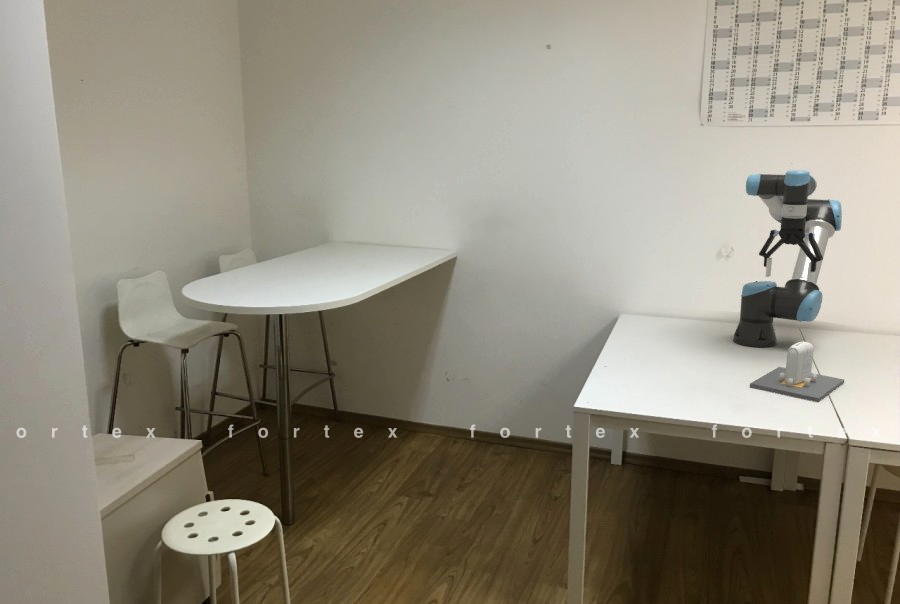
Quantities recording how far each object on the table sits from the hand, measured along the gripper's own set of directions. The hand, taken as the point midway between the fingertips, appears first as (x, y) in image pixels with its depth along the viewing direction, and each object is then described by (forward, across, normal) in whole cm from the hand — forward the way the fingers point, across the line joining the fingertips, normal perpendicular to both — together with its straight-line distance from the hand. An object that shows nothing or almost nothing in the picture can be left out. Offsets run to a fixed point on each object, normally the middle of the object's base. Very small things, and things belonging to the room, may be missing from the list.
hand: (788, 278), depth 251 cm
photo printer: (+27, +14, -27) cm, 41 cm away
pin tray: (+28, +14, -28) cm, 42 cm away
